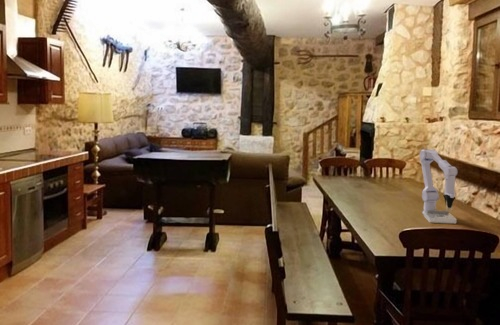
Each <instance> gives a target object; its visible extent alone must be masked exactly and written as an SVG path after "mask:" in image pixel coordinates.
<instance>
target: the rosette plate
mask: <svg viewBox="0 0 500 325" xmlns="http://www.w3.org/2000/svg"><path fill="white" fill-rule="evenodd" d="M423 217H424V218H425V219H426V221H427V222H428V223H430V224H434V223H435V224H450V225H451V224H455V225H456V224H457V220H458V219H457V218H456V217H455V216H454V215H453V214H451V213H450V211H447V210H436V209H435V210H427V212H424V214H423Z"/></svg>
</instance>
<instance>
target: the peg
mask: <svg viewBox="0 0 500 325" xmlns="http://www.w3.org/2000/svg"><path fill="white" fill-rule="evenodd" d="M453 206H454V203H453V204H452V207H451V208H448V207H447V200H446V204H445V211H449V212H452V211H453Z"/></svg>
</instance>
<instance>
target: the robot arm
mask: <svg viewBox="0 0 500 325" xmlns="http://www.w3.org/2000/svg"><path fill="white" fill-rule="evenodd" d="M419 161H420V164H421V170H422V176H423V182H424V188H423V190H422V191H421V193H422V194H421V199H422V201H423V202H424V203H423V211H421V213H422V214H423V215H424V212H427V210H436V208H437V205H436V204H437V202H438V200H439V198H440V193H439V192H438V189H437V188H436V187H435V186H434V183H433V182H434V181H433V176H432V170H431V163H432V162H434V161H435V162H436V163H437V164H438V167H439V168H440V169H441V170H442V172H443V174H444V180H445V181H444V182H445V183H444V193H443V198H444V202H445V205H446V200H447V207H448V208H451V207H452V204H453V205H454V201H455V200H456V197H455V195H457V192H455V188H456V187H455V186H456V176H457V175H458V173H459V172H458V169H457V167H456V166H452V165H451V164H450V163H449V162H448V160H447V159H442V157H441V156H440V154H438V150H436V149H421V150H420V151H419Z"/></svg>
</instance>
